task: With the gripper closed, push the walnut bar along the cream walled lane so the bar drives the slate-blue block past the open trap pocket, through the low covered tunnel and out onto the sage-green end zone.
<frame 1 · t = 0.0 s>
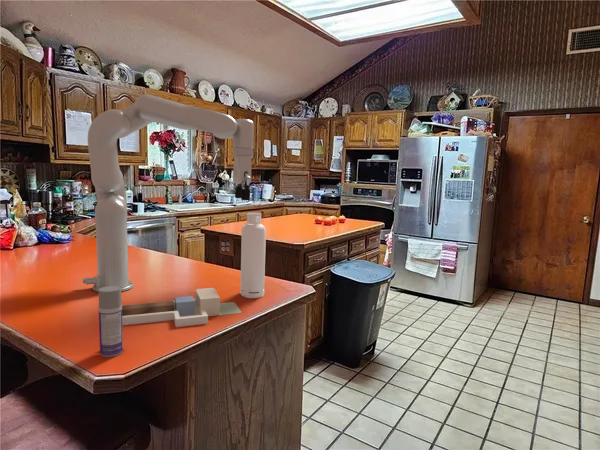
hand: (242, 199, 148), 31 cm above the counter, tool pointing down, fingers open, 9 cm apart
container: (111, 353, 89), on the counter
lane: (190, 313, 115), on the counter
block: (184, 312, 114), resting on lane
bottle: (252, 295, 134), on the counter
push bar: (147, 316, 110), resting on lane
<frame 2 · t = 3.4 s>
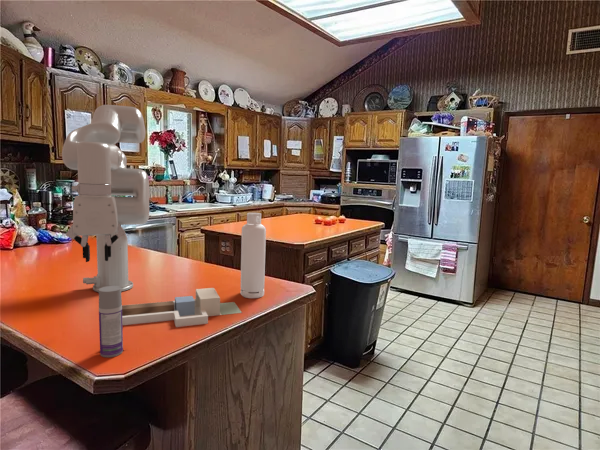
hand: (97, 259, 103), 17 cm above the counter, tool pointing down, fingers open, 3 cm apart
nothing on the counter moved.
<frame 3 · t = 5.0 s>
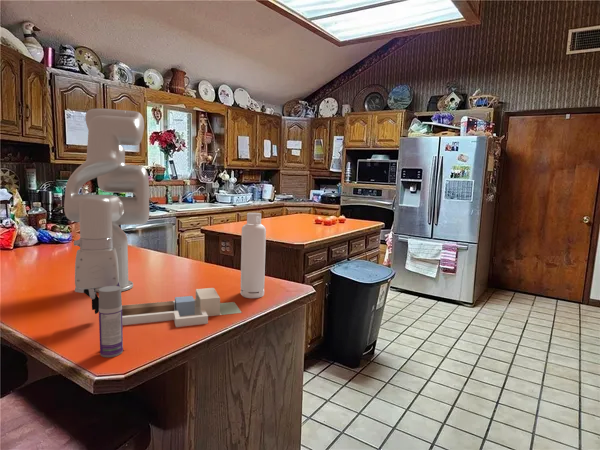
hand: (98, 311, 104), 3 cm above the counter, tool pointing down, fingers closed
nothing on the counter moved.
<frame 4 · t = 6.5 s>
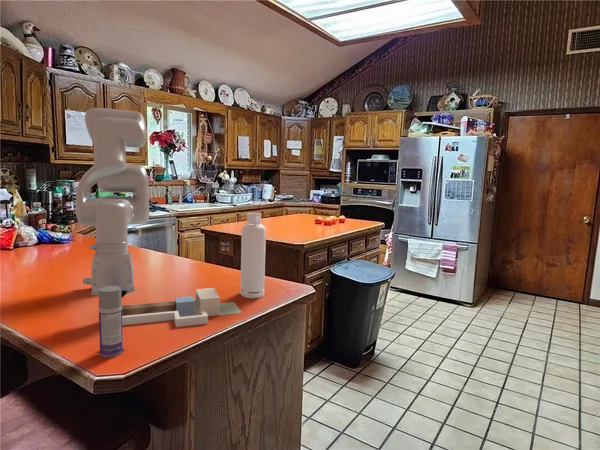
hand: (114, 314, 106), 2 cm above the counter, tool pointing down, fingers closed
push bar: (148, 316, 110), resting on lane, touching gripper
everything else where it was.
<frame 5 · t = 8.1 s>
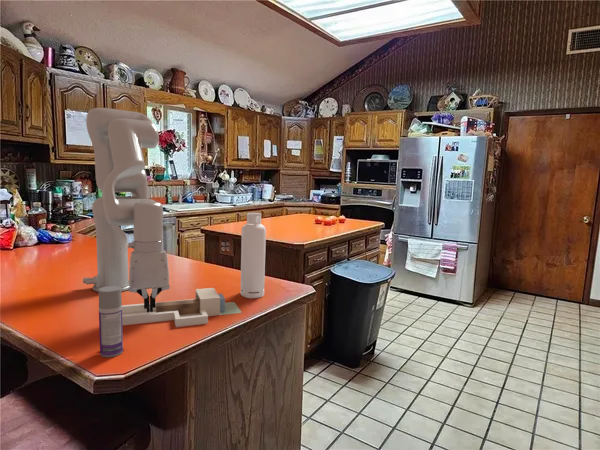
hand: (149, 310, 110), 2 cm above the counter, tool pointing down, fingers closed
block: (214, 309, 117), resting on lane
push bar: (181, 312, 113), resting on lane, touching gripper
everything else where it was.
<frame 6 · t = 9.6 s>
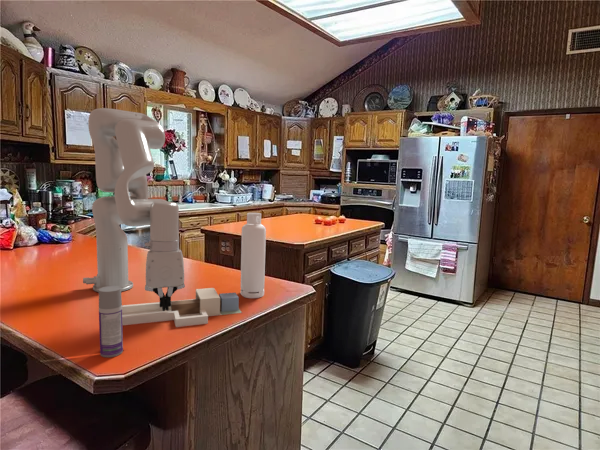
hand: (165, 309, 111), 2 cm above the counter, tool pointing down, fingers closed
block: (228, 308, 119), resting on lane, touching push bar
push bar: (196, 311, 115), resting on lane, touching block, gripper
everything else where it was.
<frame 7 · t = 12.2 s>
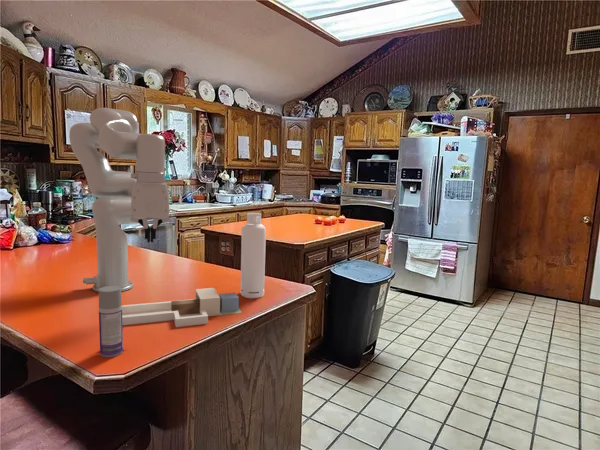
hand: (150, 241, 114), 20 cm above the counter, tool pointing down, fingers closed
block: (228, 308, 119), resting on lane
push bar: (196, 311, 115), resting on lane
everything else where it was.
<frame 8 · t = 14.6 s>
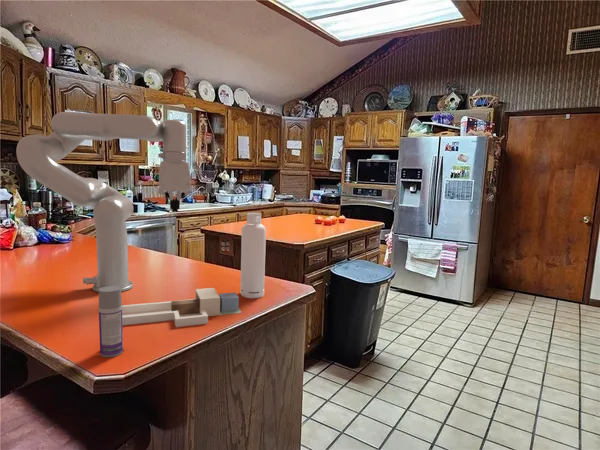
hand: (174, 211, 135), 27 cm above the counter, tool pointing down, fingers closed
nothing on the counter moved.
at the end: block inside the target area (0.7 cm from its centre), resting on lane; block tilted 0° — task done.
